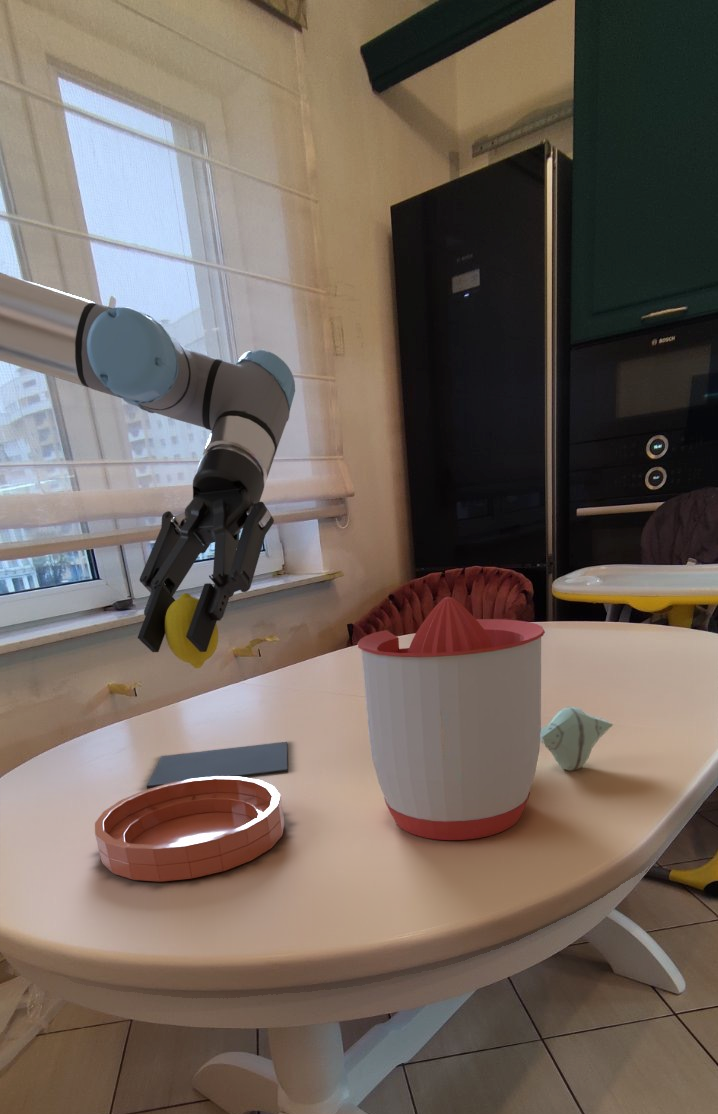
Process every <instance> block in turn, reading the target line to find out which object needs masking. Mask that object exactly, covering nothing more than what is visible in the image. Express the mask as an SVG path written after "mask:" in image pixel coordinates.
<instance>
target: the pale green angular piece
mask: <svg viewBox="0 0 718 1114" xmlns="http://www.w3.org/2000/svg"><path fill="white" fill-rule="evenodd" d="M613 726H614V724H613V723H612V722H609V721H607V720H605V719H604V718H602V717H598V716H597V717H596V716H593V715H591V714H589V713H586V712H585V711H584V710H583V709H581V708H579V707H576V706H567V707H565V708H562V709H560V710H558V711H557V713H556V714H555V715H554V716H553V718H552V719H551V721H550V722H549V723H548V724H547V725H546V726H544V727H541V734H540V742H541V743H542V744H543V746H544V747H545V748H546V749H547V750H548V751H549V752H550V753H551V755H552V756H553V758H554V760H555V761H556V763H557V764H558V765H559V767H560V768H561V769H563V770H566V771H576V770H579V769H581V768H582V767H584V765H585V764H586V762H587V761H588V760H589V758H590V756H591V752H592V750H593V748H594V747H595V745H596V744H597V742H598V741H599V740H600V739H601V738H602V737H603V736H604V735H605V734H606V733H607V732H608V731H609V730H610V729H611V728H612V727H613Z"/></svg>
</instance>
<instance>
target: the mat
mask: <svg viewBox="0 0 718 1114" xmlns="http://www.w3.org/2000/svg"><path fill="white" fill-rule="evenodd" d="M288 759H289V758H288V741H282V742H274V743H266V744H265V743H263V744H257V745H248V746H238V747H231V748H229V747H228V748H221V749H213V750H212V749H211V750H203V751H196V752H195V751H194V752H187V753H180V754H177V753H176V754H170V755H161V757H160V759H159V761H158V763H157V765H156V766H155V769H154V771H153V773H152V775H151V777H150V778H149V781H148V783H147V784H146V790H147V789H150V788H154V787H157V786H160V785H164V784H168V783H173V782H178V781H183V780H188V779H194V778H205V777H215V776H225V777H244V778H250V777H258V776H264V775H265V776H266V775H267V776H268V775H274V774H281V773H282V774H283V773H288V772H289V769H288V768H289V767H288V765H289V764H288V763H289V762H288V761H289V760H288Z"/></svg>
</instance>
